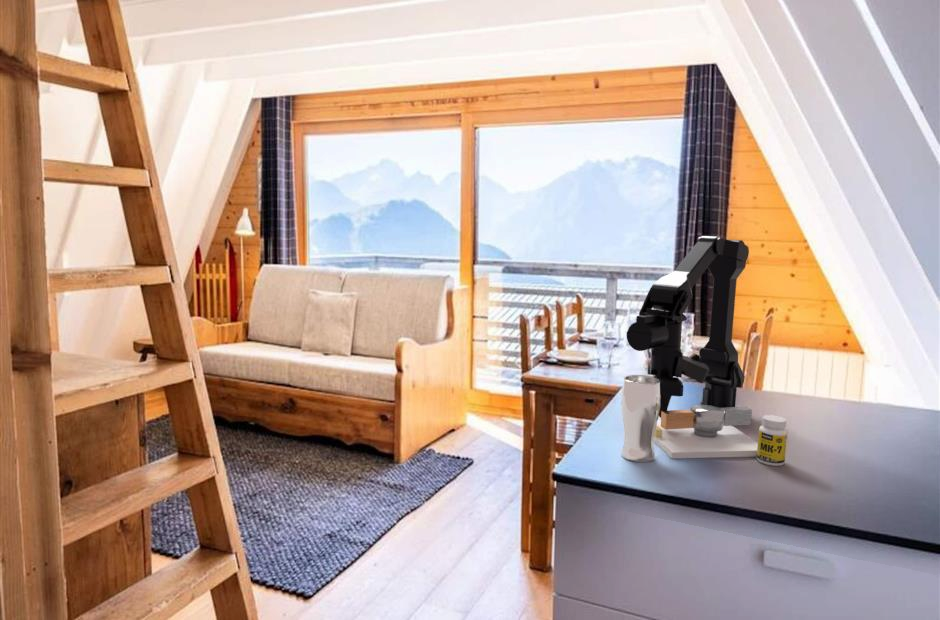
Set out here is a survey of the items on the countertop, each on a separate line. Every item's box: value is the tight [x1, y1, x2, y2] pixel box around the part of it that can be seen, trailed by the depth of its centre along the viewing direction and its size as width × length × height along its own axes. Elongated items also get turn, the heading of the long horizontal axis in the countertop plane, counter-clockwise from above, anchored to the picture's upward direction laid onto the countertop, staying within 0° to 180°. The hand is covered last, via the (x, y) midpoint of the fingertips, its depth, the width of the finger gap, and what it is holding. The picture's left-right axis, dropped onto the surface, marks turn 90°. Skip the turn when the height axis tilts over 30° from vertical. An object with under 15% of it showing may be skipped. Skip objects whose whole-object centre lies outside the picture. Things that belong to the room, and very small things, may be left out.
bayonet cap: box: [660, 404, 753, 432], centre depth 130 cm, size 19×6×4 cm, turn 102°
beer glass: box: [621, 374, 661, 463], centre depth 120 cm, size 7×7×15 cm
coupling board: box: [653, 418, 758, 460], centre depth 130 cm, size 19×19×3 cm
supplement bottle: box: [756, 414, 788, 467], centre depth 118 cm, size 5×5×8 cm
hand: (661, 416), depth 134 cm, fingers closed
